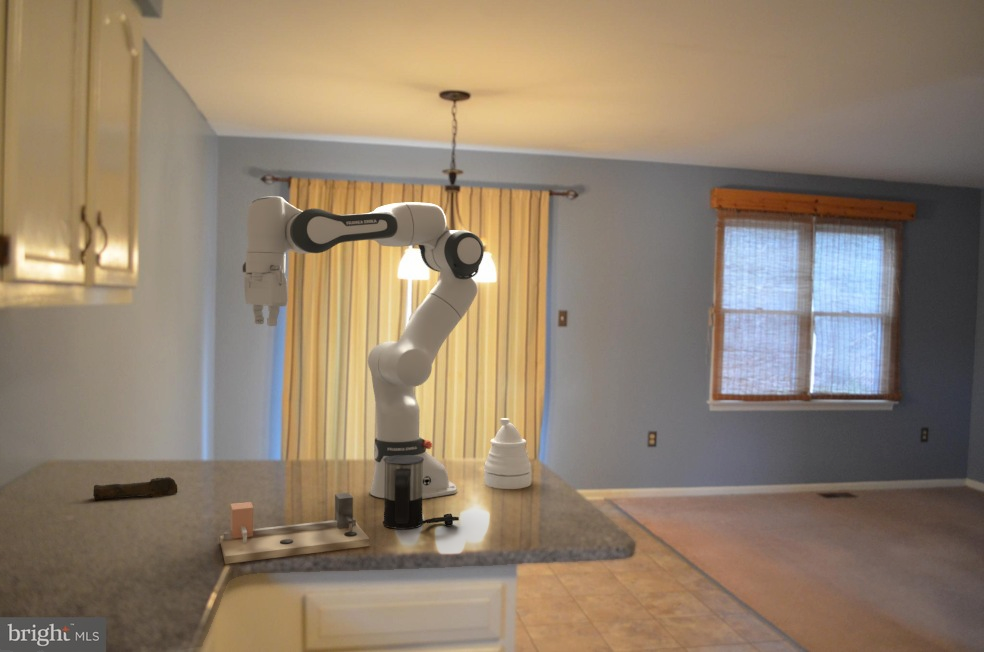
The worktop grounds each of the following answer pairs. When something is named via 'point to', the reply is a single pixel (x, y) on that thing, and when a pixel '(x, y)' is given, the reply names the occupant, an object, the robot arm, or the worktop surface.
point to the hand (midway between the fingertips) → (265, 325)
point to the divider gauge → (298, 537)
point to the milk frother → (406, 493)
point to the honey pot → (507, 459)
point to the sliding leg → (242, 520)
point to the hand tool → (136, 489)
